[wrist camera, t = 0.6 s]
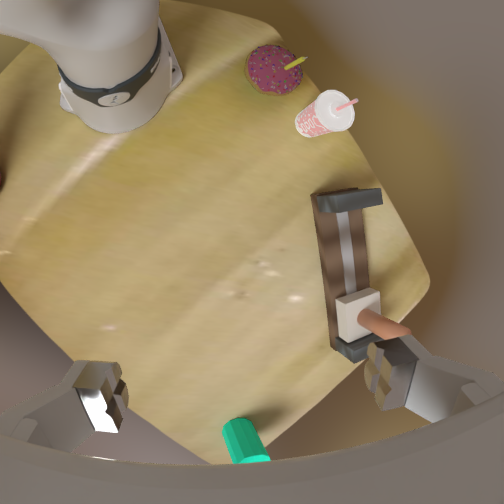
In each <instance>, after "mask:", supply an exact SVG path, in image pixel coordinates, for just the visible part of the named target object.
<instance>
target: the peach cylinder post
mask: <svg viewBox="0 0 504 504" xmlns="http://www.w3.org/2000/svg"><path fill="white" fill-rule="evenodd" d="M335 300H336V310H337V320H338V331H339V337H340V338H342V339H343V340H345V341H346V342H347V343H350V342H352V341H354V340H357V339H359V338H362V337H364V336H366V335H369V334H371V333H374V334H376V335H378V336H379V337H381V338H383V339H384V340H387V339H391V338H396V337H399V336H403V335H407V334H409V335H411V330H410V329H409V328H407V327H404V326H402V325H400V324H398V323H396V322H394V321H392V320H390V319H388V318H386V317H384V316H382V315H381V305H380V291H377V290H375V289H372V288H370V287H369V288H366V289H363V290H360V291H357V292H355V293H352V294H349V295H346V296H343V297H340V298H337V299H335Z"/></svg>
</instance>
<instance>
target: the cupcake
mask: <svg viewBox="0 0 504 504" xmlns="http://www.w3.org/2000/svg"><path fill="white" fill-rule="evenodd" d="M306 58H308V57H300V58H298V59H297V60H296V58H295V56H294V54H292V53H291V52H289V50H286V49H284V48H282V47H280V46H279V47H278V46H274V45H265V46H261V47H258V48H257V49H255V50H253V51H252V52H251V53H250V54H249V55H248V57H247V59H246V65H245V70H244V72H245V76H246V78H247V79H248V81H249V82H250V83H251V84H252V85H253V87H254V88H255V89H256V90H257V91H258V92H260V93H262V94H267V95H273V96H283V95H287V94H289V93H290V92H292V91H293V90H294V89H295V88H296V87H297V86H298V85H299V83H300V82H301V79H302V78H303V76H302V75H303V74H302V71H301V70H302V69H301V67H300V65H299V63H301V62H303V61H305V59H306Z"/></svg>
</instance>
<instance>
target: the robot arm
mask: <svg viewBox="0 0 504 504" xmlns="http://www.w3.org/2000/svg"><path fill="white" fill-rule="evenodd" d="M0 34H4V35H8V36H13V37H16V38H20V39H23V40H25V41H28V42H31V43H33V44H36V45H38V46H40V47H42V48H43V49H44V50H46V51H47V52H48V53H49V54H50V56H51V57H52V58H53V59H54V60H55V62H56V63H57V65H58V70H59V74H60V76H61V82H60V83H59V89H60V91H61V97H60V105H61V107H62V109H64V110H65V111H67V112H70V113H73V114H76V115H77V116H79V117H80V118H81V120H82V121H83V122H84V123H85V124H86V125H88V126H89V127H91V128H93V129H94V130H97V131H100V132H104V133H123V132H127V131H131V130H133V129H136V128H138V127H140V126H142V125H143V124H145V123H146V122H147V121H149V120H150V119H151V118H152V117H153V116H154V115H155V114H156V113H157V112H158V111H159V109H160V108H161V106H162V104H163V103H164V101H165V99H166V97H167V95H168V94H169V92H171V91H172V90H173V89H174V88H176V87H177V86H178V85H179V84H180V83H181V82H182V79H183V75H182V71H181V69H180V66H179V64H178V62H177V59H176V57H175V54H174V52H173V49H172V47H171V44H170V42H169V39H168V37H167V34H166V32H165V29H164V27H163V24H162V22H161V19H160V17H159V0H0ZM172 69H173V70H175V72H172ZM367 355H368V356H369V358H370V360H369V361H368V362H367V363H366V365H365V372H364V374H365V382H366V385H367V387H368V389H369V390H370V391H371V392H374V393H376V394H375V400H376V402H377V404H378V405H379V407H380V409H381V410H382V411H385V410H390V409H393V408H398V407H402V406H405V407H406V408H408V409H410V410H411V411H413V412H415V413H416V414H418V415H420V416H422V417H424V418H425V419H427V420H429V421H430V422H432V424H429V425H426V426H423V427H421V428H418V429H415V430H412V431H409V432H406V433H403V434H399V435H396V436H393V437H389V438H387V439H382V440H379V441H375V442H372V443H368V444H363V445H359V446H355V447H351V448H346V449H342V450H337V451H332V452H327V453H321V454H316V455H310V456H303V457H297V458H290V459H282V460H274V461H264V462H253V463H239V464H218V465H175V464H174V465H173V464H154V463H141V462H130V461H120V460H112V459H105V458H99V457H92V456H86V455H81V454H75V453H71V452H72V451H73V450H74V449H76V448H77V447H78V446H79V445H80V444H81V443H83V442H84V441H85V440H86V439H87V438H89V437H90V436H91V435H92V434H93V433H94V432H95V431H104V432H118V431H119V429H120V426H121V423H122V420H123V418H122V415H121V413H122V412H124V411H126V409H127V406H128V400H129V395H128V389H127V386H126V383H125V382H124V381H122V380H121V379H120V377H121V375H122V370H121V368H120V365H119V364H118V363H117V362H106V361H89V360H77V361H75V362H74V364H73V365H72V367H71V368H70V370H69V371H68V372H67V374H66V375H65V377H64V378H63V380H62V381H61V383H60V384H59V385H58V386H53V387H51V388H49V389H47V390H45V391H43V392H41V393H39V394H37V395H35V396H33V397H31V398H29V399H27V400H25V401H23V402H21V403H19V404H17V405H15V406H13V407H11V408H9V409H7V410H5V411H4V412H3V413H2V414H1V416H0V504H504V382H503V381H502V380H500V379H499V378H498V377H497V376H496V375H495V374H494V373H493V372H489V371H486V370H483V369H479V368H476V367H472V366H469V365H466V364H462V363H459V362H456V361H453V360H449V359H446V358H443V357H439V356H434V357H433V356H432V355H431V354H430V353H429V352H428V351H427V350H426V349H425V348H424V347H423V346H422V345H421V344H420V343H419V342H418V341H417V340H416V339H415V338H414V337H413V336H412V335H409V334H407V335H403V336H399V337H396V338H391V339H387V340H382V341H377V342H372V343H369V346H368V350H367Z"/></svg>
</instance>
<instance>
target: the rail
mask: <svg viewBox="0 0 504 504" xmlns="http://www.w3.org/2000/svg"><path fill="white" fill-rule="evenodd" d="M310 196H311V201H312V207H313V214H314V220H315V226H316V233H317V239H318V246H319V253H320V260H321V268H322V275H323V283H324V291H325V299H326V308H327V317H328V326H329V336H330V346H331V347H332V348H333V349H334V350H335V351H338V352H340V353H341V354H342V355H344V356H345V357H346V358H348V359H349V360H350V361H351V362H353V363H354V364H355V363H357V362H359V361H361V360H364V359H366V358H368V357H369V356H368V355H367V350H368V346H369V343H372V342H377V341H382V340H384V339H383V338H381V337H379V336H378V335H376V334H374V333H371V334H369V335H366V336H364V337H362V338H359V339H357V340H354V341H352V342H350V343H347V342H346V341H345V340H343V339H342V338H340V337H339V331H338V320H337V310H336V300H335V299H337V298H340V297H343V296H346V295H349V294H352V293H355V292H357V291H360V290H363V289H366V288H369V287H370V286H369V274H368V263H367V253H366V244H365V235H364V227H363V219H362V212H361V208H366V207H371V206H376V205H381V204H383V200H382V193H381V188H374V189H358V188H348V189H342V190H336V191H331V192H325V193H319V194H313V195H310Z"/></svg>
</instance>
